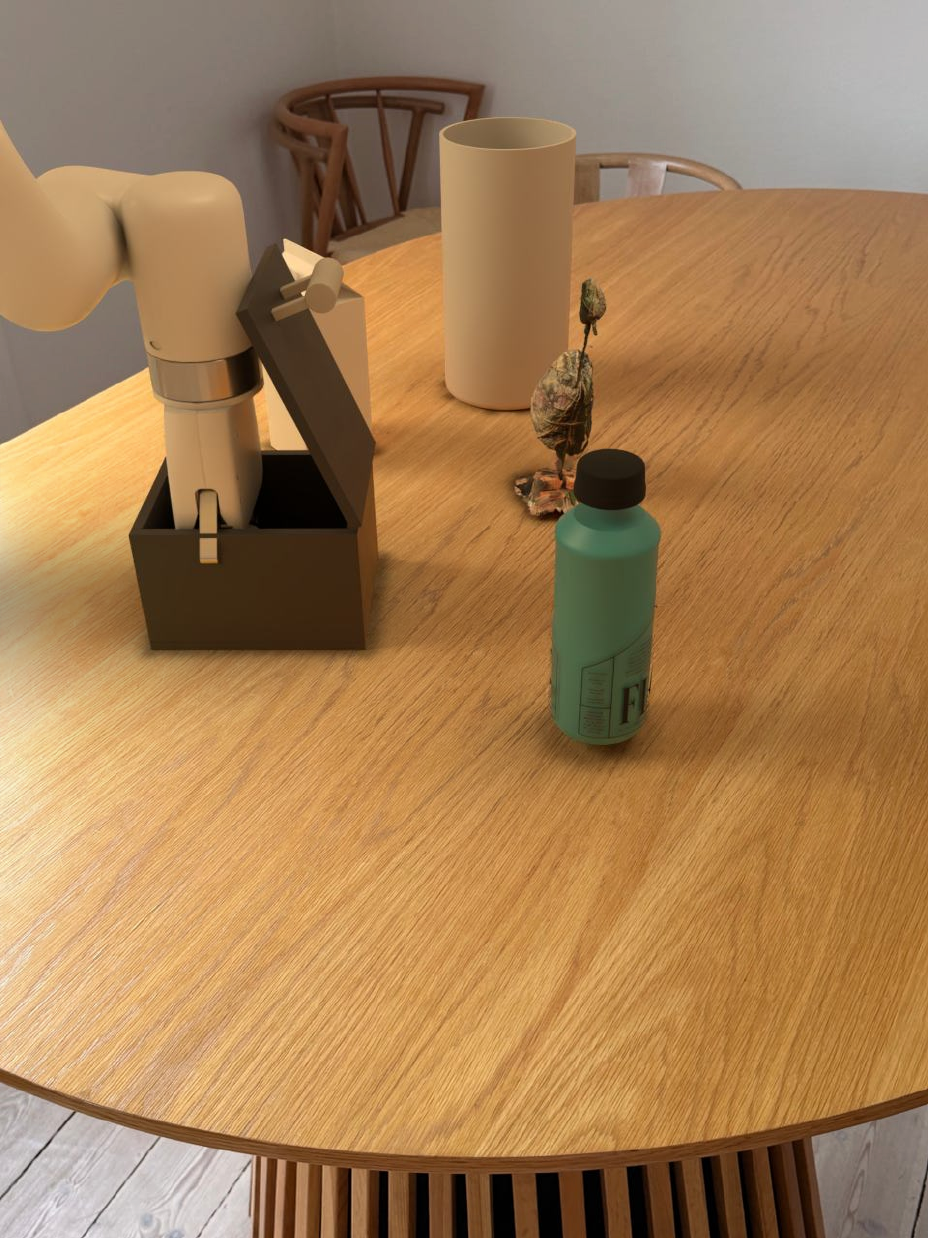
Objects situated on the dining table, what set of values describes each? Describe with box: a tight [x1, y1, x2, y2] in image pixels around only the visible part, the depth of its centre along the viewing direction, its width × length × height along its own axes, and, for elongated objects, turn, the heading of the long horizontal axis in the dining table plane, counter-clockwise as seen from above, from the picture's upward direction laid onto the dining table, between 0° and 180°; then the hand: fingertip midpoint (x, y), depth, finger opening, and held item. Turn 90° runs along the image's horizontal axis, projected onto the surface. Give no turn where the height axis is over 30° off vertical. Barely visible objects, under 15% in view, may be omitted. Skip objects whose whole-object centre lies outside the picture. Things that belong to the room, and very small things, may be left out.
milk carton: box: [262, 238, 373, 450], centre depth 109 cm, size 7×7×19 cm
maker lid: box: [235, 242, 377, 530], centre depth 82 cm, size 16×13×5 cm
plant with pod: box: [513, 277, 608, 517], centre depth 101 cm, size 8×11×20 cm
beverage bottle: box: [547, 448, 662, 746], centre depth 74 cm, size 6×7×20 cm
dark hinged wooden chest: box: [128, 449, 379, 651], centre depth 90 cm, size 16×13×10 cm
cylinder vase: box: [438, 116, 577, 411], centre depth 118 cm, size 12×12×25 cm
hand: (239, 589), depth 92 cm, fingers closed on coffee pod, 4 cm apart
